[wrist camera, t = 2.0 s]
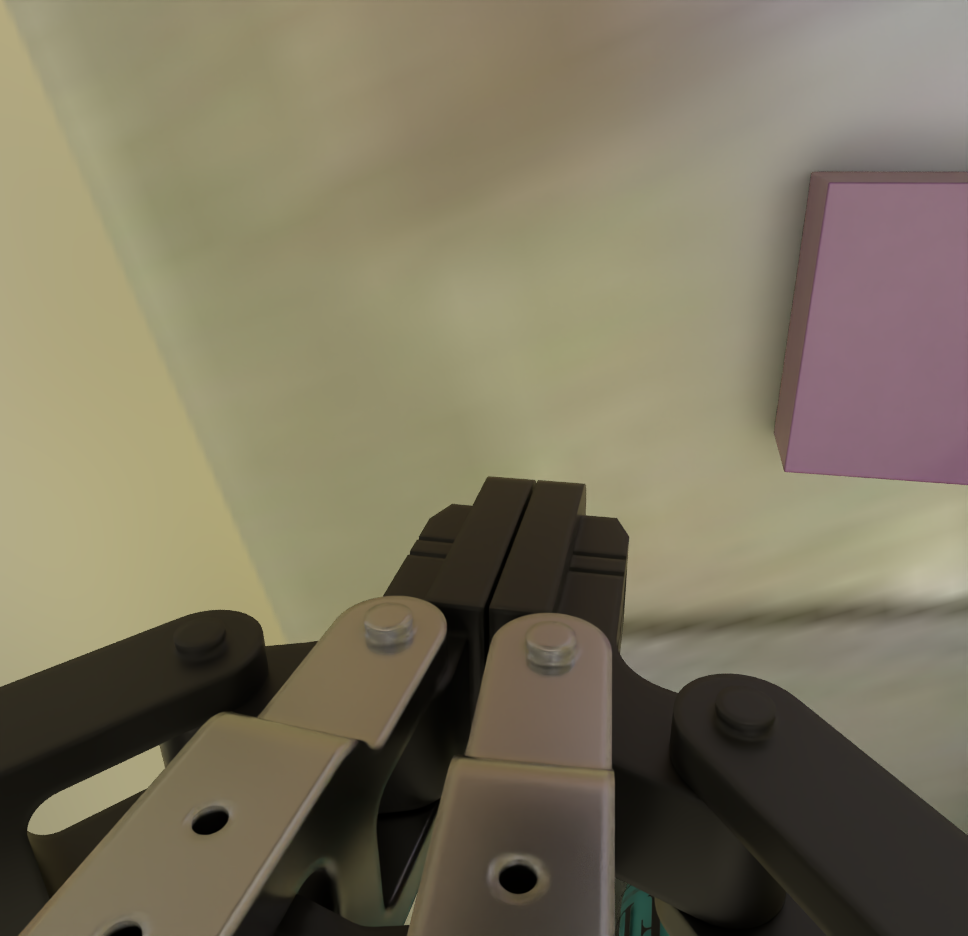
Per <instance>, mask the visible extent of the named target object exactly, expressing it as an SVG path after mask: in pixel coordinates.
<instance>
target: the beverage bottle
mask: <svg viewBox="0 0 968 936" xmlns="http://www.w3.org/2000/svg"><path fill="white" fill-rule="evenodd" d="M624 892H625V893H624ZM624 892H623V894H624V896H623V899H622V903H621V916H620V917H619V920H618V919H617V918H616V919H617V921H618V922H617V924H618V929H619V928H620V931H619V934H617V936H618V935H619V936H669V934H668V933H667V931H666V930H665V928H664V927H663V925H662V923H661V921H660V919H659V917H658V914H657V911H656V907H655V897H653V896H651V895H649V894H647V893H645V892H643V891H641V890H639V889H637V888H635V887H633V886H631V885H629V884H628V885H627V888H626V890H625V891H624ZM623 894H622V895H623ZM622 895H621V897H622ZM621 897H620V898H621ZM619 901H620V900H619ZM618 903H619V902H618ZM617 908H618V907H617ZM619 909H620V907H619ZM619 909H618V911H619ZM617 914H618V913H617ZM619 922H620V926H619ZM616 930H617V926H616ZM617 933H618V931H617Z"/></svg>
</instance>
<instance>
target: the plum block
mask: <svg viewBox="0 0 968 936" xmlns="http://www.w3.org/2000/svg"><path fill="white" fill-rule="evenodd" d="M774 435H775V439H776V443H777V446H778V450H779V454H780V457H781V461H782V465H783V468H784V471H785V472H795V473H809V474H823V475H836V476H850V477H864V478H878V479H892V480H905V481H919V482H933V483H947V484H960V485H968V172H812V173H811V179H810V186H809V193H808V200H807V207H806V214H805V221H804V228H803V235H802V242H801V248H800V255H799V262H798V269H797V276H796V283H795V290H794V297H793V304H792V311H791V317H790V324H789V331H788V338H787V345H786V352H785V359H784V366H783V373H782V379H781V386H780V393H779V400H778V407H777V414H776V421H775V428H774Z"/></svg>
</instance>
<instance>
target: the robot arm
mask: <svg viewBox="0 0 968 936" xmlns="http://www.w3.org/2000/svg"><path fill="white" fill-rule="evenodd" d="M628 545H629V536H628V534H627V533H626V531H625V530H624V528H623V527H622V525H621V524H620V522H619V521H618V519H617V518H609V517H597V516H586V485H585V484H580V483H568V482H555V481H542V480H538V481H537V483H536V481H535V480H528V479H515V478H502V477H487V479H486V481H485V482H484V484H483V486H482V488H481V490H480V492H479V494H478V496H477V498H476V500H475V502H474V504H473V506H469V505H457V504H451V505H450V506H448V507H447V508H445V509H444V510H442V511H441V512H439V513H438V514H436V515H434V516H433V517H431V518H430V519H429V521H428V522H427V524H426V526H425V527H424V529H423V531H422V532H421V534H420V536H419V540H417V541H416V542H415V544H414V546H413V547H412V549H411V551H410V555H408V556H407V557H406V559H405V561H404V562H403V564H402V565H401V567H400V569H399V570H398V572H397V574H396V575H395V577H394V579H393V580H392V582H391V584H390V585H389V587H388V589H387V590H386V592H385V594H384V595H383V597H378V598H373V599H369V600H366V601H363V602H360V603H358V604H356V605H354V606H352V607H350V608H348V609H347V610H346V611H344V612H343V613H342V614H341V615H340V616H339V617H338V618H337V619H336V620H335V621H334V622H333V624H332V625H331V626H330V627H329V629H328V630H327V631H326V632H325V634H324V635H323V636H322V637H321V639H320V640H319V641H314V642H307V643H296V644H285V645H274V646H265V642H264V636H263V631H262V627H261V625H260V624H259V623H258V621H257V620H255V619H254V618H253V617H251V616H249V615H247V614H244V613H241V612H237V611H231V610H210V611H204V612H198V613H194V614H190V615H187V616H184V617H181V618H179V619H176V620H173V621H170V622H168V623H165V624H163V625H160V626H157V627H155V628H152V629H150V630H147V631H144V632H142V633H139V634H137V635H134V636H131V637H129V638H126V639H124V640H121V641H118V642H116V643H113V644H111V645H108V646H105V647H103V648H100V649H98V650H95V651H92V652H90V653H87V654H85V655H82V656H80V657H77V658H74V659H72V660H69V661H67V662H64V663H62V664H59V665H56V666H54V667H51V668H49V669H46V670H43V671H41V672H38V673H35V674H33V675H30V676H28V677H25V678H23V679H20V680H17V681H15V682H12V683H10V684H7V685H4V686H2V687H0V936H615V877H616V878H618V879H620V880H622V881H624V882H626V883H628V884H629V885H631V886H633V887H635V888H637V889H639V890H641V891H643V892H645V893H647V894H649V895H651V896H653V897H655V907H656V911H657V914H658V917H659V919H660V921H661V923H662V925H663V927H664V928H665V930H666V931H667V933H668V934H669V936H968V836H967V835H966V834H965V833H964V832H962V831H961V830H960V829H959V828H957V827H956V826H955V825H954V824H952V823H951V822H950V821H949V820H948V819H946V818H945V817H944V816H943V815H941V814H940V813H939V812H938V811H936V810H935V809H934V808H933V807H931V806H930V805H929V804H928V803H926V802H925V801H924V800H923V799H921V798H920V797H919V796H918V795H916V794H915V793H914V792H913V791H911V790H910V789H909V788H908V787H907V786H905V785H904V784H903V783H902V782H900V781H899V780H898V779H897V778H895V777H894V776H893V775H892V774H890V773H889V772H888V771H887V770H885V769H884V768H883V767H882V766H880V765H879V764H878V763H877V762H875V761H874V760H873V759H872V758H870V757H869V756H868V755H867V754H866V753H864V752H863V751H862V750H861V749H859V748H858V747H857V746H856V745H854V744H853V743H852V742H851V741H849V740H848V739H847V738H846V737H844V736H843V735H842V734H841V733H839V732H838V731H837V730H836V729H834V728H833V727H832V726H831V725H830V724H828V723H827V722H826V721H825V720H823V719H822V718H821V717H820V716H818V715H817V714H816V713H815V712H813V711H812V710H811V709H810V708H808V707H807V706H806V705H805V704H803V703H802V702H801V701H800V700H798V699H797V698H796V697H795V696H793V695H792V694H790V693H789V692H788V691H786V690H784V689H782V688H780V687H779V686H777V685H775V684H772V683H770V682H767V681H765V680H762V679H758V678H755V677H751V676H746V675H740V674H715V675H708V676H704V677H701V678H698V679H696V680H694V681H692V682H690V683H688V684H687V685H686V686H684V687H683V688H682V689H681V690H680V692H679V693H676V692H673V691H670V690H668V689H665V688H662V687H660V686H658V685H655V684H653V683H651V682H649V681H647V680H646V679H644V678H642V677H641V676H639V675H638V674H637V673H635V672H634V671H633V670H632V669H631V668H630V667H629V666H628V665H627V664H626V663H625V662H624V660H623V659H622V657H621V655H620V649H621V640H622V631H623V622H624V607H625V591H626V576H627V561H628ZM158 745H160V748H161V752H162V757H163V761H164V765H165V769H164V770H163V771H162V772H161V774H160V775H159V776H158V777H157V778H156V779H155V780H154V781H153V783H152V784H151V785H150V786H149V787H148V788H147V789H145V790H143V791H141V792H139V793H137V794H135V795H133V796H131V797H129V798H127V799H125V800H123V801H121V802H119V803H117V804H115V805H113V806H111V807H109V808H107V809H105V810H103V811H101V812H99V813H96V814H95V815H92V816H91V817H88V818H86V819H84V820H82V821H80V822H78V823H76V824H74V825H72V826H70V827H68V828H66V829H64V830H62V831H60V832H57V833H54V834H49V835H35V834H33V833H30V832H28V831H27V827H28V823H29V820H30V818H31V816H32V814H33V813H34V812H35V810H36V809H37V808H38V807H39V806H40V805H41V804H42V803H43V802H44V801H45V800H47V799H48V798H49V797H51V796H52V795H54V794H56V793H58V792H60V791H62V790H64V789H66V788H68V787H70V786H73V785H74V784H77V783H79V782H81V781H83V780H85V779H87V778H90V777H92V776H94V775H96V774H98V773H100V772H102V771H104V770H107V769H108V768H111V767H113V766H115V765H117V764H119V763H122V762H124V761H126V760H128V759H130V758H132V757H134V756H136V755H139V754H141V753H143V752H145V751H147V750H149V749H151V748H153V747H156V746H158ZM416 895H417V897H416ZM415 897H416V901H415V905H414V909H413V913H412V917H411V921H410V925H404V923H405V921H406V919H407V916H408V914H409V912H410V909H411V907H412V904H413V902H414V900H415Z"/></svg>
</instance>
